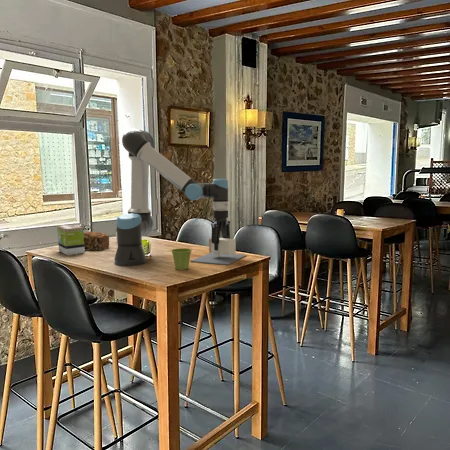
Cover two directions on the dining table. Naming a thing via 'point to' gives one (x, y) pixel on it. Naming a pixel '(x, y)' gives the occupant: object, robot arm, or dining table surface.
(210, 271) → the dining table surface
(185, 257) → the plant pot
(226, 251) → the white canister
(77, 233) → the tea box
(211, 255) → the slate mat
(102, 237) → the bread
